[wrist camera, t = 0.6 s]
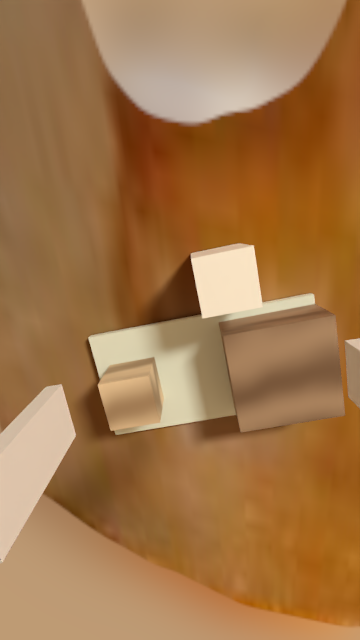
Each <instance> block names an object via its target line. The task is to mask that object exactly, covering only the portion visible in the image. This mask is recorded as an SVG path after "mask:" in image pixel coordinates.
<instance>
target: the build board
mask: <svg viewBox="0 0 360 640" xmlns="http://www.w3.org/2000/svg"><path fill="white" fill-rule="evenodd" d="M312 304H315V300H314V294H312V293H309V294H304V295H299V296H294V297H289V298H283V299H278V300H273V301H268V302H263V303H262V305H263V307H261V308H256V309H250V310H245V311H240V312H235V313H230V314H224V315H219V316H214V317H209V318H202V314H200V315H195V316H190V317H184V318H179V319H174V320H169V321H164V322H158V323H153V324H148V325H143V326H138V327H132V328H127V329H122V330H117V331H112V332H106V333H101V334H96V335H91V336H89V337H88V339H89V342H90V346H91V349H92V353H93V356H94V360H95V364H96V367H97V371H98V374H99V378H100V380H101V379H102V377H103V375H104V374H105V372H106V371H107V369H108V367H109V366H110V365H114V364H119V363H125V362H130V361H135V360H141V359H146V358H152V357H154V358H155V362H156V367H157V371H158V375H159V379H160V384H161V388H162V392H163V396H164V402H163V408H162V414H161V420H160V423H155V424H149V425H143V426H137V427H131V428H125V429H119V430H114V431H115V434H116V435H119V434H125V433H131V432H137V431H143V430H149V429H155V428H161V427H167V426H173V425H178V424H184V423H190V422H196V421H202V420H208V419H214V418H220V417H226V416H232V415H236V412H235V408H234V403H233V398H232V393H231V387H230V382H229V376H228V371H227V365H226V360H225V354H224V349H223V343H222V338H221V332H220V327H219V322H222V321H227V320H233V319H238V318H243V317H249V316H254V315H259V314H264V313H270V312H275V311H280V310H286V309H291V308H296V307H301V306H307V305H312Z"/></svg>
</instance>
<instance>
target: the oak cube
mask: <svg viewBox="0 0 360 640" xmlns="http://www.w3.org/2000/svg"><path fill="white" fill-rule="evenodd" d="M98 388H99V392H100V395H101V399H102V402H103V406H104V409H105V413H106V416H107V420H108V423H109V427H110V430H111V431H113V430H119V429H125V428H131V427H137V426H143V425H149V424H155V423H160V420H161V414H162V408H163V402H164V396H163V392H162V388H161V384H160V379H159V375H158V371H157V367H156V362H155V358H154V357H152V358H146V359H141V360H135V361H130V362H125V363H119V364H114V365H110V366H109V367H108V369H107V371H106V372H105V374H104V375H103V377H102V379H101V380H100V382H99V383H98Z"/></svg>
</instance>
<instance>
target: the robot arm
mask: <svg viewBox="0 0 360 640" xmlns="http://www.w3.org/2000/svg"><path fill="white" fill-rule="evenodd" d="M345 352H346V368H347V383H348V397H349V398H350V399H351V400H352V401H353V402H354V403H355V404H356V405H357V406H358V407H359V408H360V338H359V339H352V340H346V341H345ZM75 436H76V434H75V430H74V427H73V423H72V420H71V416H70V413H69V409H68V406H67V402H66V398H65V395H64V391H63V388H62V384H61V385H54V386H48V387H45V388H44V389H43V390H42V391H41V393H40V394H39V395H38V396H37V397H36V398H35V399H34V400H33V401H32V402H31V403H30V404H29V405H28V406H27V407H26V408H25V409H24V410H23V411H22V412H21V413H20V414H19V415H18V416H17V417H16V418H15V419H14V421H13V422H12V423H11V424H10V425H9V426H8V427H7V428H6V429H5V430H4V431H3V432H2V433H1V434H0V563H3V561H4V559H5V557H6V556H7V553H8V552H9V550H10V549H11V547H12V545H13V543H14V542H15V540H16V538H17V537H18V535H19V533H20V531H21V530H22V528H23V526H24V524H25V523H26V521H27V519H28V518H29V516H30V514H31V512H32V511H33V509H34V507H35V505H36V504H37V502H38V500H39V499H40V497H41V495H42V493H43V492H44V490H45V488H46V486H47V485H48V483H49V481H50V480H51V478H52V476H53V474H54V473H55V471H56V469H57V467H58V466H59V464H60V462H61V460H62V459H63V457H64V455H65V454H66V452H67V450H68V448H69V447H70V445H71V443H72V441H73V440H74V438H75Z"/></svg>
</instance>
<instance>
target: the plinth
mask: <svg viewBox="0 0 360 640" xmlns="http://www.w3.org/2000/svg"><path fill="white" fill-rule="evenodd" d="M219 327H220V332H221V338H222V343H223V349H224V354H225V360H226V365H227V371H228V376H229V382H230V387H231V393H232V398H233V403H234V408H235V412H236V416H237V420H238V424H239V428H240V432H247V431H253V430H259V429H266V428H272V427H278V426H284V425H290V424H296V423H302V422H309V421H315V420H321V419H327V418H333V417H339V416H345V410H344V399H343V389H342V378H341V368H340V358H339V347H338V337H337V327H336V316H335V315H334V314H332V313H330V312H329V311H327V310H325V309H323V308H321V307H320V306H318V305H316V304H312V305H307V306H301V307H296V308H291V309H286V310H280V311H275V312H270V313H264V314H259V315H254V316H249V317H243V318H238V319H233V320H227V321H222V322H219Z"/></svg>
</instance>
